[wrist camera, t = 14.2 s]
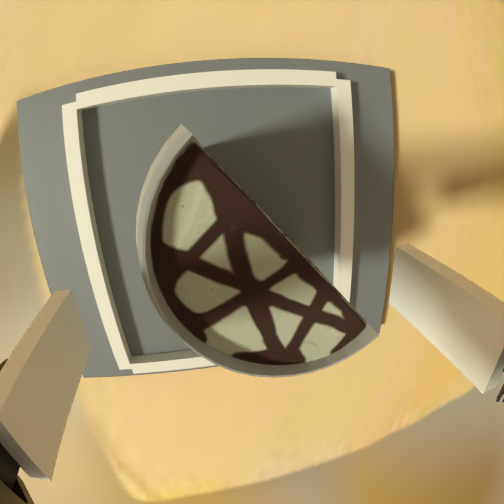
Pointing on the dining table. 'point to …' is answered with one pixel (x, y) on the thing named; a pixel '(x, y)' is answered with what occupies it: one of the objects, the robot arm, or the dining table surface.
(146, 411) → the dining table surface
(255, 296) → the food container
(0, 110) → the dining table surface
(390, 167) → the dock board
